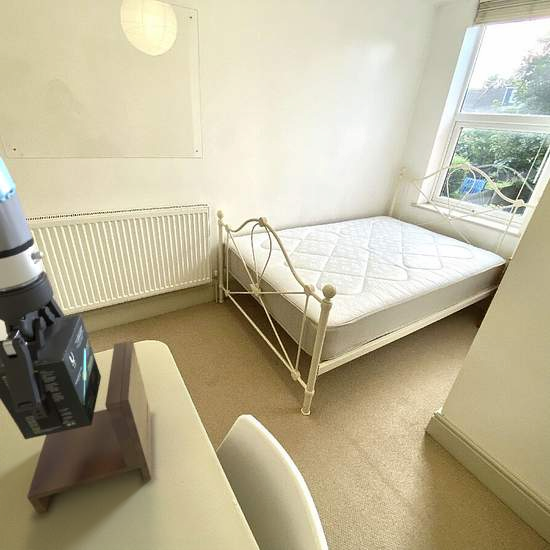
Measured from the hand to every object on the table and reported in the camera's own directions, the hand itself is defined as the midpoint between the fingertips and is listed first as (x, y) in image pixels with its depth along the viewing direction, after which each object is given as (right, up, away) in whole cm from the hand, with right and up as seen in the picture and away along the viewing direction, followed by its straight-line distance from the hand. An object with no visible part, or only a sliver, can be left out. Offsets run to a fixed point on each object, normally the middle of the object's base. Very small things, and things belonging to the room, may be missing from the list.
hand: (61, 394), depth 51 cm
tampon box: (0, -3, +1) cm, 3 cm away
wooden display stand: (+1, -17, +10) cm, 20 cm away
